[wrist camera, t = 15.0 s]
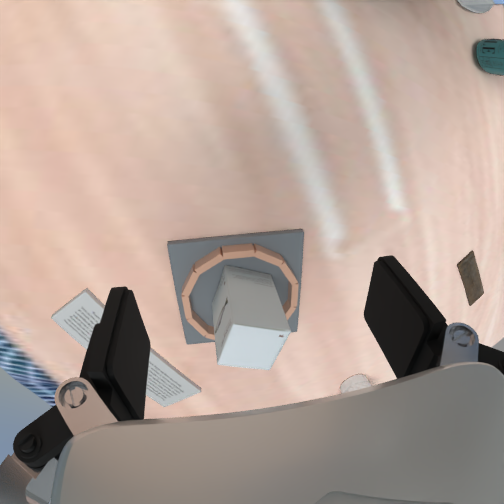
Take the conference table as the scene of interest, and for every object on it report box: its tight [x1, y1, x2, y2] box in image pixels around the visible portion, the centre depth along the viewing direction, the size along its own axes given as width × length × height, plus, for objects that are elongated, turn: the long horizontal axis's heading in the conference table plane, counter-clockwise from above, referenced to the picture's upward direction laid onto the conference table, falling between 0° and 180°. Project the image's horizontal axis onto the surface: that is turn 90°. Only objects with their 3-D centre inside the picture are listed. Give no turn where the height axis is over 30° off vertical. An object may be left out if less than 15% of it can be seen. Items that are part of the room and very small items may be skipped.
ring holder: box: [167, 229, 304, 344], centre depth 48 cm, size 19×19×3 cm
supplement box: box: [212, 265, 291, 370], centre depth 43 cm, size 7×7×13 cm
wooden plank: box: [457, 251, 484, 306], centre depth 58 cm, size 17×1×5 cm
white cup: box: [340, 374, 372, 393], centre depth 63 cm, size 8×8×10 cm
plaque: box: [51, 288, 201, 407], centre depth 53 cm, size 30×2×10 cm
